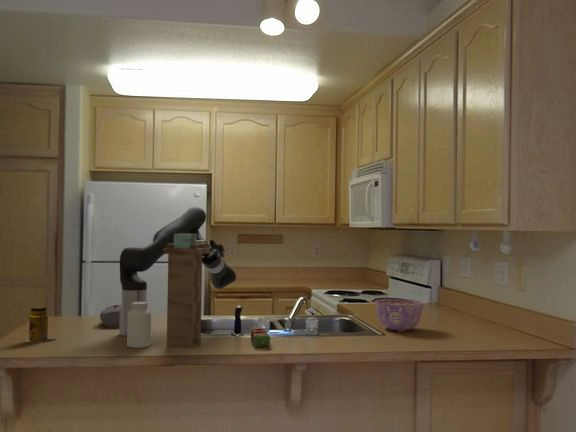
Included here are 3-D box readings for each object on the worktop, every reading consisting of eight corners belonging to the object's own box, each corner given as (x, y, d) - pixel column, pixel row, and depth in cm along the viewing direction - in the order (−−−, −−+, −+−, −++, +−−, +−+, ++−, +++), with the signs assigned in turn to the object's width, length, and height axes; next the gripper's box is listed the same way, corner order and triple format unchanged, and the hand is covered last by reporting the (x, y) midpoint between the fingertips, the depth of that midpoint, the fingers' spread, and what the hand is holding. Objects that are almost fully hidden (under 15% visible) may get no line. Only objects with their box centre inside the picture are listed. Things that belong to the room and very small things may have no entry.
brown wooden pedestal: (176, 339, 201) (178, 242, 202) (209, 340, 199) (211, 243, 200) (161, 346, 189) (163, 243, 190) (196, 348, 186) (198, 244, 187)
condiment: (23, 342, 193) (24, 308, 193) (42, 337, 201) (42, 305, 201) (38, 344, 190) (39, 309, 191) (57, 339, 198) (58, 306, 198)
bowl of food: (392, 335, 214) (393, 306, 214) (365, 326, 232) (365, 299, 232) (433, 332, 222) (434, 303, 222) (404, 324, 240) (404, 297, 240)
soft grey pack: (136, 327, 224) (138, 319, 243) (136, 307, 224) (139, 301, 244) (97, 328, 221) (103, 320, 240) (98, 308, 221) (103, 301, 240)
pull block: (197, 246, 211) (197, 233, 211) (211, 246, 210) (211, 233, 210) (173, 248, 190) (173, 233, 190) (189, 248, 189) (190, 234, 189)
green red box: (248, 338, 205) (248, 325, 205) (265, 338, 206) (265, 325, 206) (253, 351, 185) (253, 336, 185) (271, 350, 186) (272, 336, 186)
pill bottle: (128, 349, 184) (129, 304, 184) (125, 344, 191) (126, 301, 191) (152, 347, 187) (153, 303, 187) (148, 342, 194) (149, 300, 195)
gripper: (197, 252, 223) (184, 232, 210) (230, 252, 220) (219, 232, 207) (193, 268, 219) (180, 249, 206) (227, 269, 216) (216, 250, 203)
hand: (200, 241), depth 206 cm, fingers open, 8 cm apart
